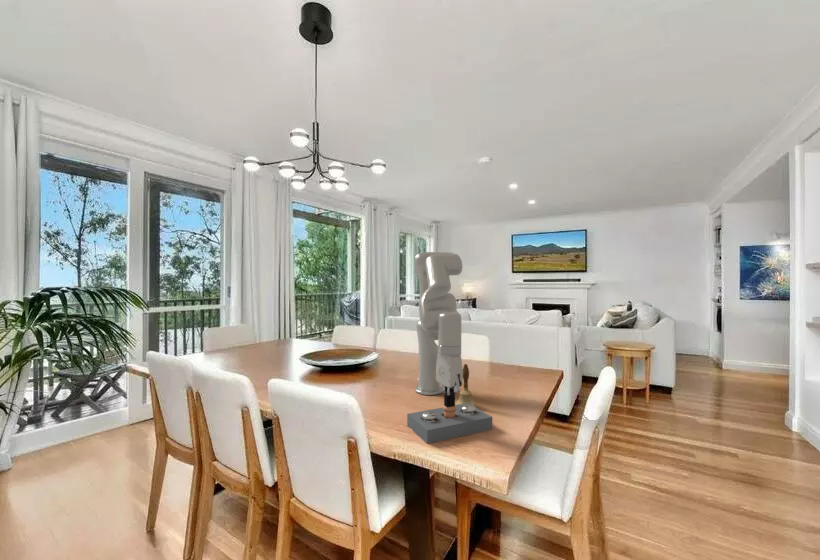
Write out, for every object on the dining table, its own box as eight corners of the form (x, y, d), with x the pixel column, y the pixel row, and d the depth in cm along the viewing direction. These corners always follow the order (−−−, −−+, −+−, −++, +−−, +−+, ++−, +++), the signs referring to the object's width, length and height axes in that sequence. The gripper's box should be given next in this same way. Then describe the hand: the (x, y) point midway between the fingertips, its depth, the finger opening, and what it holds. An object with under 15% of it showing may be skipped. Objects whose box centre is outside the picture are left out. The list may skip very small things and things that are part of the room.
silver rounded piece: (459, 420, 121) (459, 406, 121) (470, 418, 123) (470, 404, 123) (466, 425, 117) (466, 410, 117) (477, 423, 119) (477, 408, 119)
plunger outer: (420, 428, 115) (420, 413, 115) (431, 426, 117) (432, 410, 116) (426, 433, 111) (426, 417, 111) (438, 431, 113) (438, 415, 112)
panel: (407, 425, 118) (407, 413, 118) (467, 414, 128) (467, 403, 128) (427, 443, 105) (427, 430, 105) (492, 429, 116) (492, 416, 116)
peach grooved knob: (440, 419, 118) (440, 404, 118) (451, 417, 120) (451, 402, 120) (447, 424, 114) (447, 409, 114) (458, 422, 116) (458, 407, 116)
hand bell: (450, 406, 136) (450, 364, 136) (463, 400, 142) (463, 361, 142) (468, 412, 130) (468, 368, 130) (481, 406, 136) (481, 364, 136)
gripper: (428, 346, 122) (428, 400, 122) (452, 355, 108) (451, 415, 108) (447, 345, 125) (447, 397, 125) (472, 353, 111) (472, 411, 111)
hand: (449, 405), depth 117 cm, fingers closed
